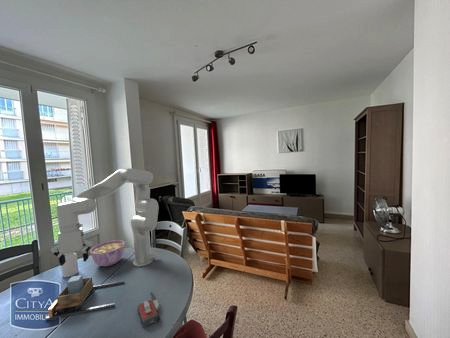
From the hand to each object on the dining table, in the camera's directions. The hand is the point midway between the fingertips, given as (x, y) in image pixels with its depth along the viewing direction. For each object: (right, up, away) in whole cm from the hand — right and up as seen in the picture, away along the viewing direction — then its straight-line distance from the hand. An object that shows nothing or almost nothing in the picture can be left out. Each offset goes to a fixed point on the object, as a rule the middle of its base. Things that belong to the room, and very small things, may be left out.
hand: (74, 262), depth 97 cm
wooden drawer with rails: (+6, -19, +2) cm, 20 cm away
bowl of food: (-4, -18, +37) cm, 41 cm away
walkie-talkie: (+39, -19, -7) cm, 44 cm away
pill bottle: (-22, -20, +26) cm, 39 cm away
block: (+1, -16, 0) cm, 16 cm away
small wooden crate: (+1, -20, +1) cm, 20 cm away
